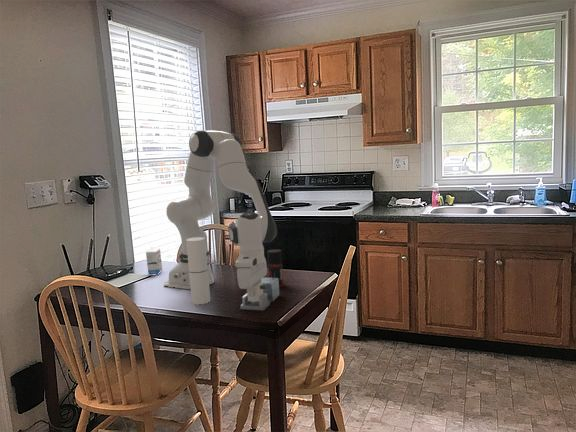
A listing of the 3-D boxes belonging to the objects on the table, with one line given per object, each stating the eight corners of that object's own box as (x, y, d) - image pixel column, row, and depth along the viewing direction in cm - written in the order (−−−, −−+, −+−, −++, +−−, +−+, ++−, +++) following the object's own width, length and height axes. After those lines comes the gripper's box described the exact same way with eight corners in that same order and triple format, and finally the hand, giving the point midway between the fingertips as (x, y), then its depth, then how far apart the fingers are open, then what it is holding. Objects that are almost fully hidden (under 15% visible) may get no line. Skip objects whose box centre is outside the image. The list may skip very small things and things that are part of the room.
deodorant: (281, 287, 197) (279, 252, 195) (268, 287, 198) (265, 252, 196) (284, 283, 203) (282, 249, 201) (271, 283, 204) (268, 249, 202)
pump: (264, 301, 171) (263, 285, 170) (247, 300, 173) (246, 285, 172) (268, 297, 175) (267, 281, 175) (252, 297, 177) (251, 281, 176)
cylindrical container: (194, 305, 180) (188, 241, 177) (190, 300, 187) (184, 238, 183) (212, 302, 183) (206, 239, 180) (207, 297, 190) (202, 236, 186)
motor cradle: (263, 310, 170) (262, 291, 169) (240, 309, 173) (239, 290, 172) (281, 293, 189) (279, 276, 188) (260, 292, 192) (258, 275, 191)
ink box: (158, 275, 232) (155, 251, 230) (148, 275, 232) (145, 252, 230) (162, 270, 240) (160, 248, 238) (153, 271, 240) (150, 248, 239)
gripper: (254, 250, 183) (257, 285, 185) (233, 263, 164) (236, 302, 166) (269, 250, 181) (272, 285, 183) (249, 263, 162) (253, 302, 164)
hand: (255, 293), depth 174 cm, fingers closed on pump, 4 cm apart
